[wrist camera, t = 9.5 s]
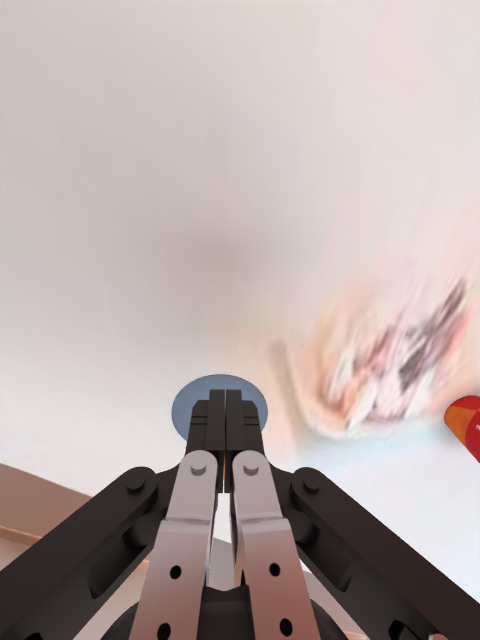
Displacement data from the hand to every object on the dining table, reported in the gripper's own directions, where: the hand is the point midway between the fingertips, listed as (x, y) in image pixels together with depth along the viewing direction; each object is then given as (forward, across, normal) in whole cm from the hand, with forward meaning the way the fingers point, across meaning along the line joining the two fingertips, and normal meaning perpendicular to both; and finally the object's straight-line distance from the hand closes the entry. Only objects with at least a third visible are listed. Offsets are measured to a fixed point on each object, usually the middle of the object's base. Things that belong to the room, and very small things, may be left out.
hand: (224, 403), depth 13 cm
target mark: (+17, 0, +16) cm, 23 cm away
